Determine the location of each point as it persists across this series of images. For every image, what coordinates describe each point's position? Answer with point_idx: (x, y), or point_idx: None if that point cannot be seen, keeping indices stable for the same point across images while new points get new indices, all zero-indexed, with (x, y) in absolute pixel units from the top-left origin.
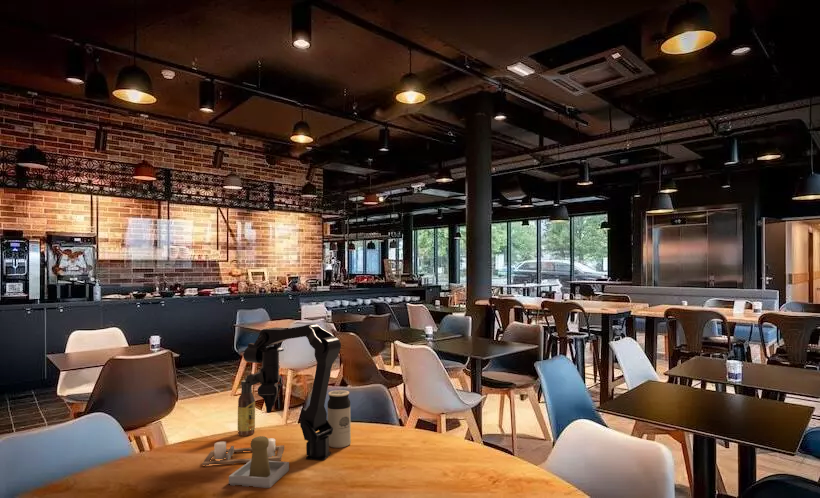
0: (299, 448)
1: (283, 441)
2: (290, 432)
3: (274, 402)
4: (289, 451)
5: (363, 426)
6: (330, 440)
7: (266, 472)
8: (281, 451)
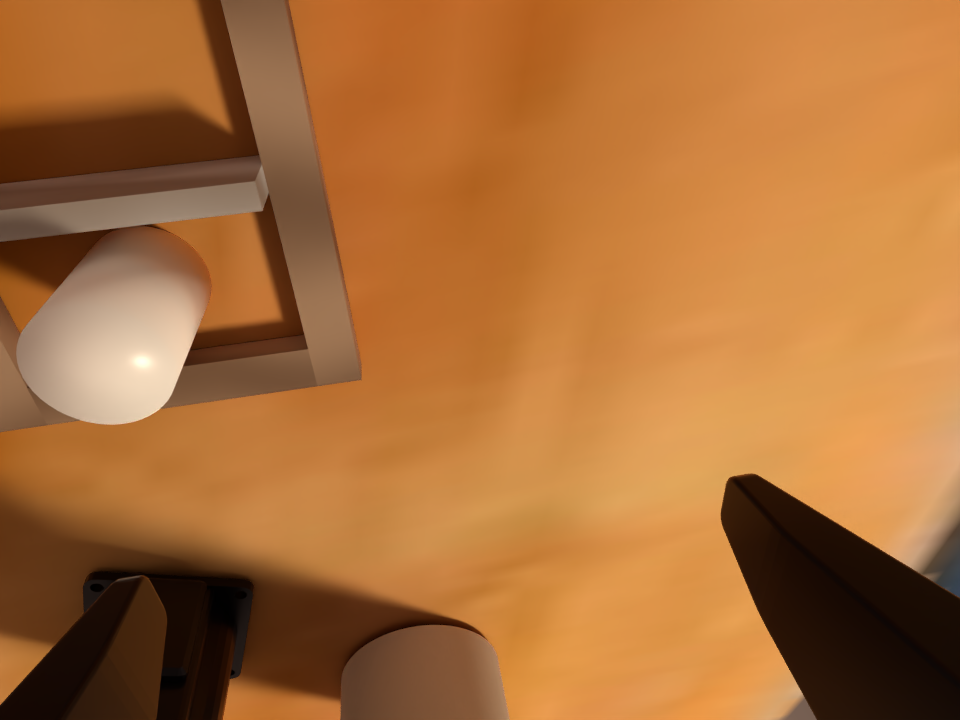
0: (351, 476)
1: (560, 311)
2: (810, 314)
3: (748, 588)
4: (274, 422)
5: (739, 699)
6: (361, 688)
7: None
8: (176, 398)
